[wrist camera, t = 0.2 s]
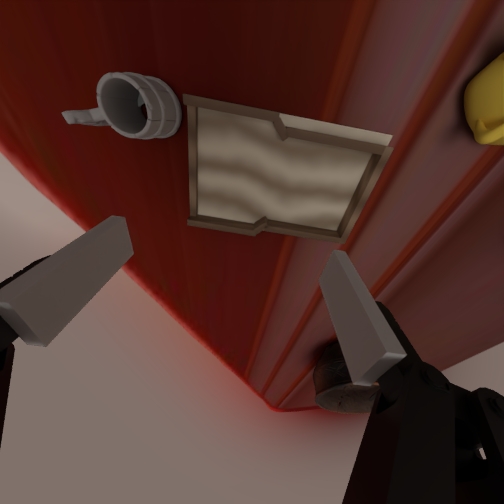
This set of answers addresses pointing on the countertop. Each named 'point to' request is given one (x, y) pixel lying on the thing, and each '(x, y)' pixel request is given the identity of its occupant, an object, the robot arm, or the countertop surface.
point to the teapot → (487, 103)
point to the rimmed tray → (278, 171)
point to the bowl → (340, 385)
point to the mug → (132, 106)
